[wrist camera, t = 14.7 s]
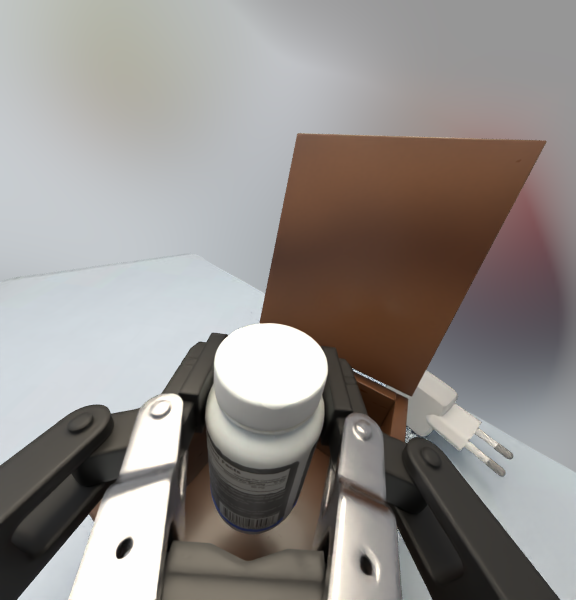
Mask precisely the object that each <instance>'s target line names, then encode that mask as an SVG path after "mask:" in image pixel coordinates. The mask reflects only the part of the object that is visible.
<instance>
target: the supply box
mask: <svg viewBox="0 0 576 600" xmlns="http://www.w3.org/2000/svg"><path fill="white" fill-rule="evenodd" d="M353 372H354V371H353ZM354 375H355V376H354V377H355V378H356V381H357V385H358V387H359V390H360V393H361V396H362V399H363V402H364V405H365V408H366V411H367V414H368V416H369V417H370V418H372V419H373V420H374V421H375V422H376V423H377V424H378V426H379V427H380V429H381V431H382V432H384V433H385V434H387V435H389V436H391V437H394V438H396V439H399V440H401V441H403V442H405V435H406V423H407V411H408V398H406V397H404V396H402V395H400V394H398V393H396V392H394V391H392V390H390V389H388V388H386V387H384V386H382V385H380V384H378V383H376V382H374V381H372V380H370V379H368V378H366V377H364V376H362V375H360V374H358V373H356V372H354ZM329 458H330V449H329V446H322V445H321V438H319V440H318V443H317V446H316V449H315V451H314V454H313V457H312V460H311V463H310V466H309V469H308V472H307V475H306V477H305V481H304V483H303V487H302V490H301V492H300V495H299V498H298V500H297V502H296V504H295V506H294V508H293V509H292V511H291V512H290V514H289V515H288V516H287V517H286V519H285V520H284V521H282V522H281V523H280V524H279V525H277V526H276V527H275V528H273V529H271V530H269V531H267V532H265V533H261V534H245V533H241V532H238V531H236V530H234V529H232V528H231V527H230V526H229V525H227V524H226V523H225V521H224V520H223V519H222V518H221V517H220V515H219V513H218V512H217V510H216V507H215V505H214V502H213V499H212V494H211V488H210V474H209V460H208V448H207V435H206V425H205V427H204V430H203V432H202V434H201V433H194V435H193V437H192V439H191V442H190V444H189V459H188V473H187V486H186V500H185V541H187V542H201V543H212V544H213V545H215V546H217V547H219V548H221V549H223V550H225V551H227V552H229V553H231V554H233V555H235V556H237V557H239V558H241V559H243V560H245V561H252V560H255V559H258V558H261V557H264V556H267V555H270V554H273V553H276V552H279V551H282V550H285V549H299V550H311V548H312V543H313V538H314V534H315V530H316V526H317V522H318V518H319V513H320V507H321V501H322V495H323V489H324V483H325V477H326V471H327V466H328V460H329ZM101 501H102V499H101V500H100V501H99V503H98V504H97V505H96V506H95V507H94V509H93V510H92V511H91V512H90V513H89V515H90V516H91V518H92V520H93V521H94V522H95V519H96V516H97V513H98V510H99V507H100V504H101ZM396 526H397V525H396Z"/></svg>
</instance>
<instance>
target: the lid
mask: <svg viewBox="0 0 576 600" xmlns="http://www.w3.org/2000/svg"><path fill="white" fill-rule="evenodd" d="M545 144H546V141H540V140H539V141H537V140H507V139H506V140H505V139H472V138H439V137H438V138H437V137H406V136H371V135H338V134H305V133H303V134H302V133H298V134H297V138H296V143H295V148H294V153H293V158H292V164H291V168H290V173H289V178H288V183H287V188H286V193H285V198H284V203H283V208H282V213H281V218H280V223H279V229H278V233H277V238H276V244H275V248H274V254H273V258H272V263H271V269H270V273H269V278H268V283H267V289H266V293H265V298H264V303H263V308H262V313H261V318H260V323H261V324H263V323H274V324H282V325H286V326H290V327H293V328H295V329H298V330H300V331H302V332H304V333H306V334H307V335H308V336H310V337H311V338H312V339H313V340H314V341H316V342H317V343H318V345H319V346H328V347H335V348H336V350H337V353H338V357H339V358H343V359H346V361H347V362H348V363H349V364H350V365H351V367H352V368H353V369H355V370H357V371H359V372H361V373H363V374H365V375H368V376H370V377H372V378H374V379H376V380H378V381H380V382H382V383H384V384H386V385H388V386H390V387H392V388H394V389H396V390H398V391H400V392H402V393H405V394H407V395H409V396H411V397H412V396H413V394H414V392H415V390H416V388H417V386H418V384H419V382H420V380H421V379H422V377H423V375H424V373H425V371H426V369H427V367H428V365H429V363H430V362H431V359H432V358H433V356H434V354H435V352H436V350H437V348H438V346H439V344H440V342H441V341H442V339H443V337H444V335H445V333H446V331H447V329H448V327H449V326H450V324H451V322H452V320H453V318H454V316H455V314H456V312H457V310H458V308H459V307H460V304H461V303H462V301H463V299H464V297H465V295H466V293H467V291H468V290H469V288H470V286H471V284H472V282H473V280H474V278H475V276H476V274H477V273H478V270H479V269H480V267H481V265H482V263H483V261H484V259H485V257H486V255H487V254H488V251H489V250H490V248H491V246H492V244H493V242H494V240H495V238H496V237H497V235H498V233H499V231H500V229H501V227H502V225H503V223H504V221H505V219H506V217H507V216H508V214H509V212H510V210H511V208H512V206H513V204H514V202H515V201H516V199H517V197H518V195H519V193H520V191H521V189H522V187H523V185H524V184H525V182H526V180H527V178H528V176H529V174H530V172H531V170H532V168H533V166H534V165H535V163H536V160H537V159H538V157H539V155H540V153H541V151H542V149H543V148H544V146H545Z"/></svg>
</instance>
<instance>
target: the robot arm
mask: <svg viewBox="0 0 576 600" xmlns="http://www.w3.org/2000/svg"><path fill="white" fill-rule="evenodd" d="M226 337H228V335H227V334H220V333H212V334H211V335H210V337H209V339H208V340H207V342H198V343H197V344H196V345H194V346H193V347H192V348H191V349H190V350H189V352H188V353H187V355H186V356H185V358H184V359H183V361H182V363H181V365H180V366H179V367H178V369H177V370H176V372H175V373H174V375H173V377H172V378H171V380H170V381H169V383H168V384H167V386H166V388H165V389H164V391H163V392H162V393H161V394H160V395H157V396H155V397H153V398H151V399H150V400H148V401H147V402H146V403H145V404H144V405H143V406H142V407H141V408H138V409H134V410H129V411H124V412H118V413H113V414H111V413H110V411H109V409H108V408H107V407H106V406H104V405H89V406H85V407H83V408H80V409H78V410H76V411H74V412H72V413H70V414H69V415H67V416H66V417H64V418H63V419H62V420H60V421H59V422H58V423H56V424H55V425H54V426H52V427H51V428H50V429H48V430H47V431H46V432H44V433H43V434H42V435H40V436H39V437H38V438H36V439H35V440H34V441H32V442H31V443H30V444H28V445H27V446H26V447H24V448H23V449H22V450H20V451H19V452H18V453H16V454H15V455H14V456H12V457H11V458H10V459H8V460H7V461H6V462H4V463H3V464H2V465H0V600H17V599H18V598H19V596H20V595H21V594H22V593H23V592H24V590H25V589H26V588H27V587H28V586H29V585H30V583H31V582H32V581H33V580H34V579H35V577H36V576H37V575H38V574H39V573H40V571H41V570H42V569H43V568H44V567H45V566H46V564H47V563H48V562H49V561H50V560H51V558H52V557H53V556H54V555H55V554H56V552H57V551H58V550H59V549H60V548H61V547H62V545H63V544H64V543H65V542H66V541H67V539H68V538H69V537H70V536H71V535H72V533H73V532H74V531H75V530H76V529H77V528H78V526H79V525H80V524H81V523H82V522H83V520H84V519H85V518H86V517H87V516H88V514H89V513H90V512H91V511H92V510H93V509H94V507H95V506H96V505H97V504H98V503H99V501H100V500H101V499H102V501H101V504H100V507H99V510H98V513H97V516H96V519H95V522H94V525H93V528H92V531H91V534H90V537H89V540H88V543H87V546H86V549H85V552H84V555H83V558H82V561H81V564H80V567H79V570H78V573H77V576H76V579H75V582H74V585H73V588H72V591H71V594H70V597H69V600H402V590H401V577H400V564H399V551H398V539H397V527H398V530H399V532H400V534H401V536H402V538H403V540H404V542H405V544H406V546H407V548H408V550H409V552H410V554H411V556H412V558H413V560H414V562H415V564H416V566H417V569H418V571H419V573H420V575H421V577H422V579H423V581H424V583H425V585H426V587H427V589H428V591H429V593H430V595H431V597H432V599H433V600H560V599H559V598H558V596H557V595H556V594H555V593H554V591H553V590H552V589H551V588H550V586H549V585H548V584H547V582H546V581H545V580H544V579H543V577H542V576H541V575H540V574H539V572H538V571H537V570H536V569H535V567H534V566H533V565H532V564H531V562H530V561H529V560H528V558H527V557H526V556H525V555H524V553H523V552H522V551H521V550H520V548H519V547H518V546H517V545H516V543H515V542H514V541H513V540H512V538H511V537H510V536H509V534H508V533H507V532H506V531H505V529H504V528H503V527H502V526H501V524H500V523H499V522H498V521H497V519H496V518H495V517H494V516H493V514H492V513H491V512H490V511H489V509H488V508H487V507H486V505H485V504H484V503H483V502H482V500H481V499H480V498H479V497H478V495H477V494H476V493H475V492H474V490H473V489H472V488H471V487H470V485H469V484H468V483H467V481H466V480H465V479H464V478H463V476H462V475H461V474H460V473H459V471H458V470H457V469H456V468H455V466H454V465H453V464H452V463H451V461H450V460H449V459H448V457H447V456H446V455H445V454H444V453H443V451H442V450H441V449H440V448H438V447H437V446H436V445H435V444H433V443H432V442H430V441H428V440H426V439H424V438H419V437H415V438H412V439H411V440H410V441H409V442H408V443H406V442H403V441H401V440H399V439H396V438H394V437H391V436H389V435H387V434H385V433H384V432H382V431H381V429H380V427H379V426H378V424H377V423H376V422H375V421H374V420H373V419H372V418H370V417H369V416H368V414H367V411H366V408H365V405H364V402H363V399H362V396H361V393H360V390H359V387H358V385H357V381H356V378H355V377H354V376H355V375H354V372H353V370H352V367H351V365H350V364H349V363H348V362H347V361H346V359H343V358H339V357H338V353H337V350H336V348H335V347H328V346H320V347H321V349H322V350H323V352H324V354H325V356H326V359H327V364H328V375H327V380H326V383H325V387H324V390H323V394H322V396H323V400H324V408H325V416H324V423H323V428H322V432H321V435H320V438H321V445H322V446H329V449H330V458H329V460H328V466H327V471H326V477H325V483H324V489H323V495H322V501H321V507H320V513H319V518H318V522H317V526H316V530H315V534H314V538H313V543H312V548H311V550H299V549H285V550H282V551H279V552H276V553H273V554H270V555H267V556H264V557H261V558H258V559H255V560H252V561H245V560H243V559H241V558H239V557H237V556H235V555H233V554H231V553H229V552H227V551H225V550H223V549H221V548H219V547H217V546H215V545H213V544H212V543H201V542H187V541H185V500H186V486H187V473H188V459H189V444H190V442H191V439H192V437H193V435H194V433H201V434H202V432H203V430H204V427H205V407H206V402H207V397H208V394H209V392H210V389H211V387H212V385H213V384H214V359H215V354H216V351H217V349H218V347H219V345H220V344H221V343H222V341H223V340H224V339H225V338H226ZM396 525H397V526H396Z"/></svg>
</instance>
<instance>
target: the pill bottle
mask: <svg viewBox="0 0 576 600" xmlns="http://www.w3.org/2000/svg"><path fill="white" fill-rule="evenodd" d="M327 375H328V364H327V359H326V356H325V354H324V352H323V350H322V349H321V347H320V346H319V345H318V343H317V342H316V341H314V340H313V339H312V338H311V337H310V336H308V335H307V334H306V333H304V332H302V331H300V330H298V329H295V328H293V327H290V326H286V325H282V324H274V323H263V324H254V325H249V326H245V327H243V328H241V329H238V330H236V331H234V332H233V333H231V334H230V335H229V336H228V337H226V338H225V339H224V340H223V341H222V343H221V344H220V345H219V347H218V349H217V351H216V354H215V359H214V384H213V385H212V387H211V389H210V392H209V394H208V397H207V402H206V407H205V425H206V435H207V448H208V460H209V474H210V488H211V494H212V499H213V502H214V505H215V507H216V510H217V512H218V513H219V515H220V517H221V518H222V519H223V520H224V521H225V523H226V524H227V525H229V526H230V527H231V528H232V529H234V530H236V531H238V532H241V533H245V534H261V533H265V532H267V531H269V530H271V529H273V528H275V527H276V526H277V525H279V524H280V523H281V522H282V521H284V520H285V519H286V517H287V516H288V515H289V514H290V512H291V511H292V509H293V508H294V506H295V504H296V502H297V500H298V498H299V495H300V492H301V490H302V487H303V483H304V481H305V477H306V475H307V472H308V469H309V466H310V463H311V460H312V457H313V454H314V451H315V449H316V446H317V443H318V440H319V438H320V435H321V432H322V428H323V423H324V416H325V408H324V400H323V396H322V394H323V390H324V387H325V383H326V380H327Z"/></svg>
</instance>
